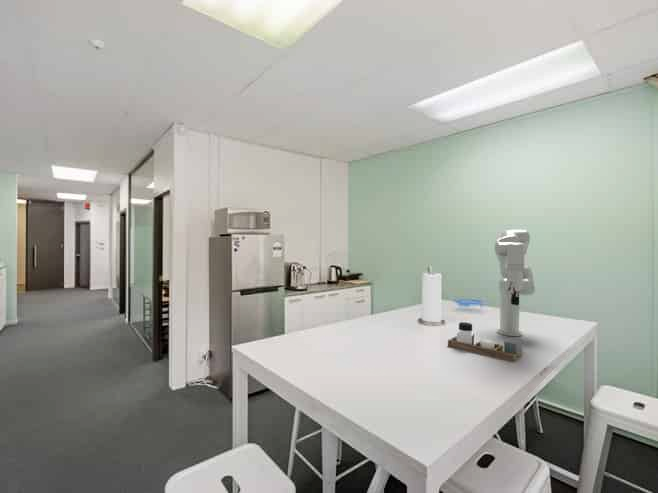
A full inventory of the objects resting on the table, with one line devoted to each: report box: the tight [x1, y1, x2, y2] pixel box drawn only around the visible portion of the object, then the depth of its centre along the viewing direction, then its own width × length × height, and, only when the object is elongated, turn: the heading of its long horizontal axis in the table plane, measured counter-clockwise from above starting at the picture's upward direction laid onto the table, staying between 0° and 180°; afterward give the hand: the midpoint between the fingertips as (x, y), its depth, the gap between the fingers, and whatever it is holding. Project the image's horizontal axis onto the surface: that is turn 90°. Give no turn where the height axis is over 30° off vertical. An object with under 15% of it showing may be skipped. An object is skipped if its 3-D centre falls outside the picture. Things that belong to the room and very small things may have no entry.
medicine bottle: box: [456, 321, 475, 345], centre depth 157 cm, size 7×7×12 cm
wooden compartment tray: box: [447, 335, 522, 363], centre depth 151 cm, size 11×30×3 cm, turn 45°
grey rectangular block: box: [503, 337, 523, 355], centre depth 150 cm, size 9×5×5 cm, turn 135°
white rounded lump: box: [479, 339, 496, 350], centre depth 150 cm, size 6×6×5 cm
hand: (515, 304), depth 157 cm, fingers closed
